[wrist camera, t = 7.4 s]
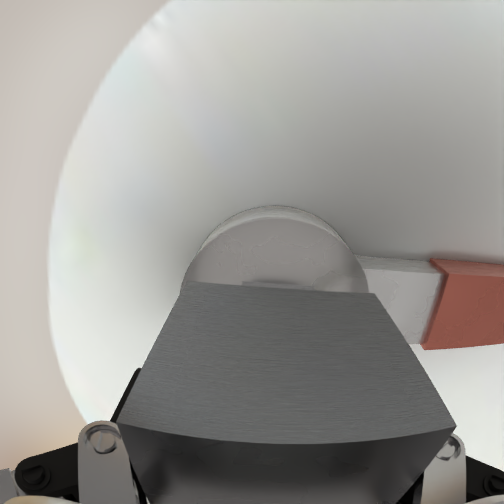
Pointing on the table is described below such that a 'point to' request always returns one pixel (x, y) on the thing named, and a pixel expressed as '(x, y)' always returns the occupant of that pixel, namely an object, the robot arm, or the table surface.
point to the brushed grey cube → (280, 401)
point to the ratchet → (356, 276)
